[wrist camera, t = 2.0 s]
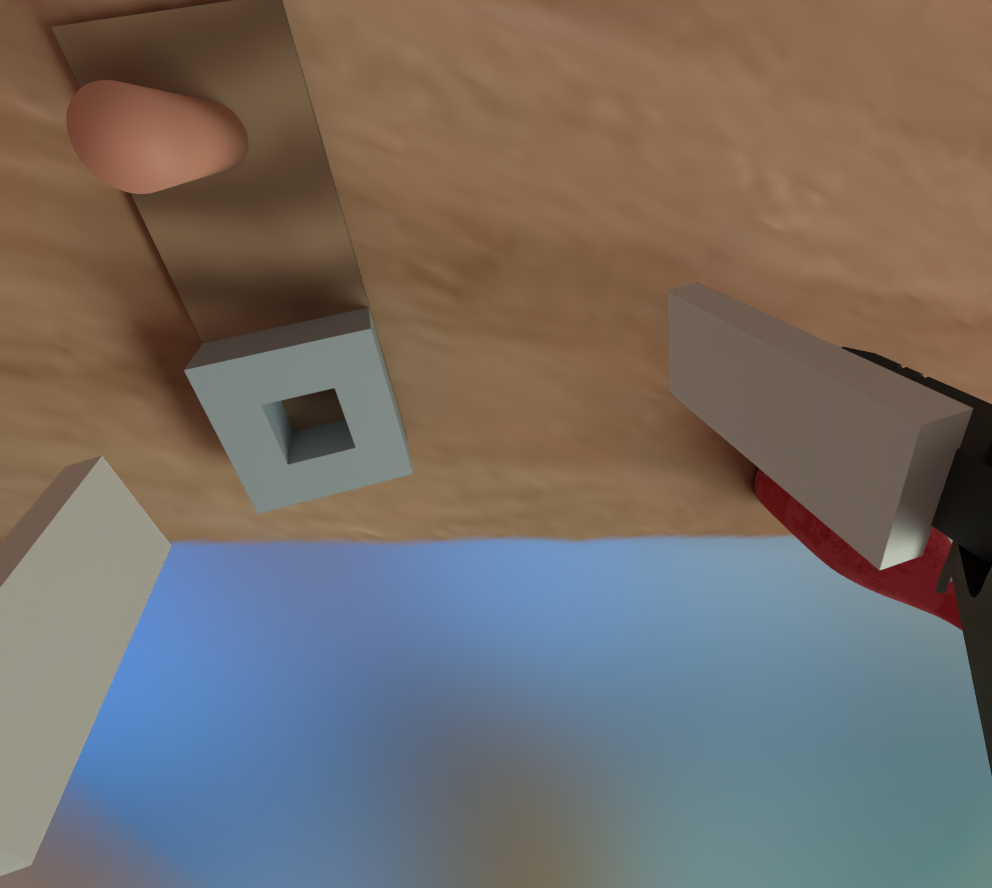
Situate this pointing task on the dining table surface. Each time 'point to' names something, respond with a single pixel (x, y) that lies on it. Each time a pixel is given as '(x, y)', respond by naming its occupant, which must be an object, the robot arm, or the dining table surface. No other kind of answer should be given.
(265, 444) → the socket
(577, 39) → the dining table surface
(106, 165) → the peg
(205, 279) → the board
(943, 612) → the wine bottle
